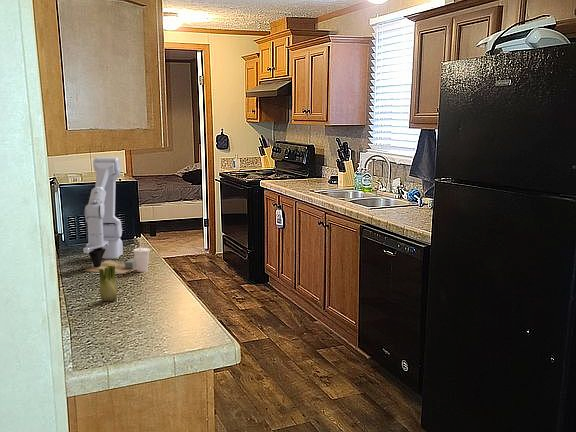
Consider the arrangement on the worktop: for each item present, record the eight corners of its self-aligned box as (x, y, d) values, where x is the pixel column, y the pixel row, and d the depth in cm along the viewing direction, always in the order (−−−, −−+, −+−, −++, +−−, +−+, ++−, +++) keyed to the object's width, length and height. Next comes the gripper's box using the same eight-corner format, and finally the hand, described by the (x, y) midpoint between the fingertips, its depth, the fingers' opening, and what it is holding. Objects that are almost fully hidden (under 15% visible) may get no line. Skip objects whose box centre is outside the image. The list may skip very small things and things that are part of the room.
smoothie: (130, 274, 212) (129, 239, 210) (140, 270, 218) (139, 236, 215) (144, 276, 210) (142, 241, 207) (154, 272, 215) (153, 237, 213)
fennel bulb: (100, 303, 178) (99, 268, 176) (99, 299, 182) (97, 264, 180) (119, 301, 180) (117, 266, 178) (116, 297, 185) (115, 263, 183)
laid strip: (125, 265, 226) (125, 262, 225) (143, 266, 224) (143, 263, 224) (104, 275, 210) (104, 272, 210) (123, 277, 208) (123, 273, 208)
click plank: (103, 275, 210) (103, 272, 210) (85, 272, 212) (85, 269, 212) (124, 265, 226) (124, 262, 225) (107, 262, 227) (107, 260, 227)
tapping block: (131, 264, 223) (131, 258, 222) (138, 264, 223) (138, 258, 222) (125, 268, 216) (125, 262, 216) (132, 268, 216) (132, 262, 215)
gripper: (97, 229, 223) (98, 261, 225) (75, 236, 209) (77, 270, 211) (112, 230, 221) (113, 262, 223) (92, 237, 207) (93, 272, 209)
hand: (97, 266), depth 217 cm, fingers closed, pressing on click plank
